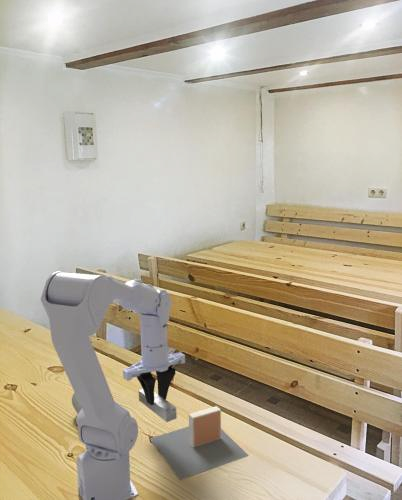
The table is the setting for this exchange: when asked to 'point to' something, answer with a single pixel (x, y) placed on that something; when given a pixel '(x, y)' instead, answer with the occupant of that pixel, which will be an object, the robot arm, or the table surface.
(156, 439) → the mat
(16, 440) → the table surface
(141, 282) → the robot arm
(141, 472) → the table surface
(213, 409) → the tile
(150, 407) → the bar
